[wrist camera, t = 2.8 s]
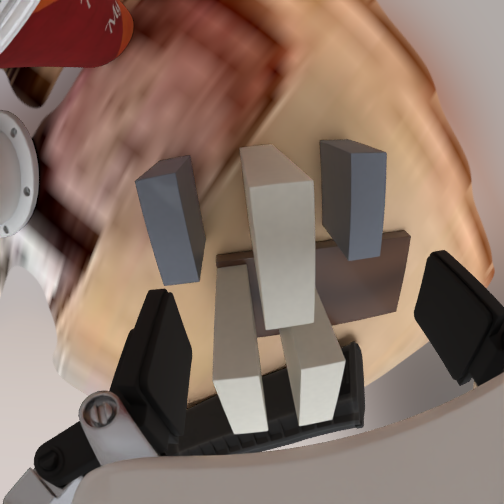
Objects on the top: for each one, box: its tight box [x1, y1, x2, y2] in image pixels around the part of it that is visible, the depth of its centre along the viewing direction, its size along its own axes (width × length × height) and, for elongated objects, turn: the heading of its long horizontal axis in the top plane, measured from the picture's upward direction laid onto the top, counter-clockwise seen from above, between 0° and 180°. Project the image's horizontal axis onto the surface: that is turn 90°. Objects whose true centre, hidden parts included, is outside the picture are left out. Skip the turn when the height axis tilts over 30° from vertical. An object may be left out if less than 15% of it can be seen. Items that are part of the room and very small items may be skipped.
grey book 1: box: [135, 155, 206, 286], centre depth 19 cm, size 7×2×6 cm, turn 6°
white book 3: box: [279, 288, 346, 426], centre depth 20 cm, size 7×2×11 cm, turn 6°
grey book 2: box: [320, 139, 387, 261], centre depth 19 cm, size 7×2×6 cm, turn 6°
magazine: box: [165, 341, 365, 456], centre depth 29 cm, size 17×3×30 cm
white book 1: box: [213, 264, 268, 434], centre depth 20 cm, size 7×2×11 cm, turn 6°
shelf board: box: [216, 231, 411, 337], centre depth 25 cm, size 9×17×1 cm, turn 96°
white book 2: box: [239, 144, 315, 330], centre depth 17 cm, size 7×2×11 cm, turn 6°
